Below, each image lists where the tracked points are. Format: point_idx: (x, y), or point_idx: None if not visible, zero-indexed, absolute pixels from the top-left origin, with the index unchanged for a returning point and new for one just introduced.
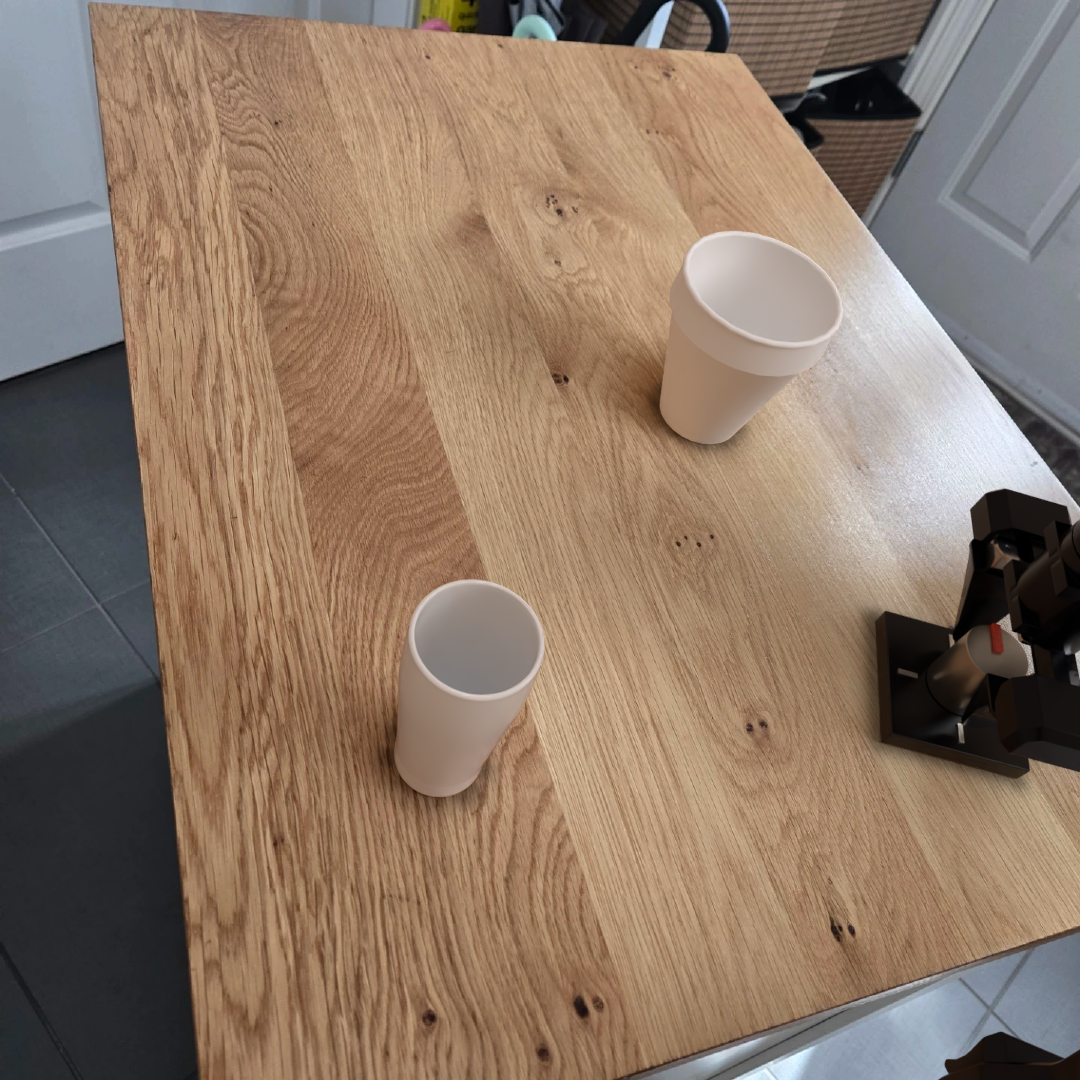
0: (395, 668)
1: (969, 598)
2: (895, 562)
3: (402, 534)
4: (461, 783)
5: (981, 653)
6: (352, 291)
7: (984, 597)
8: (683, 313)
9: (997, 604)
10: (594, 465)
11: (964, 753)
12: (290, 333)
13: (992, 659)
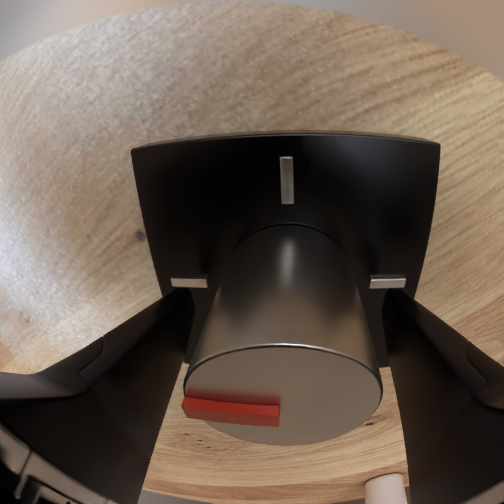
0: (342, 488)
1: (154, 437)
2: (90, 304)
3: (271, 492)
4: (403, 486)
5: (296, 433)
6: (156, 483)
7: (138, 438)
8: None
9: (126, 408)
10: (177, 460)
11: (420, 274)
12: (192, 494)
13: (309, 420)
